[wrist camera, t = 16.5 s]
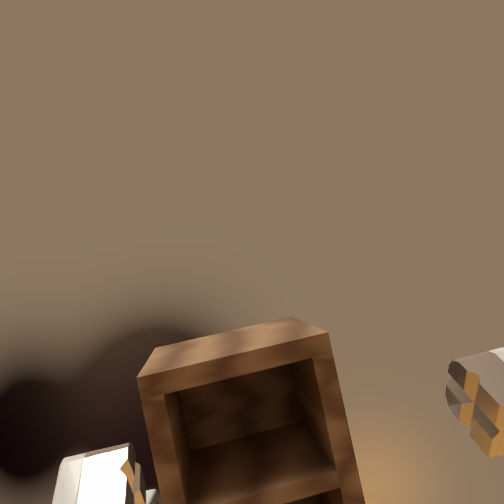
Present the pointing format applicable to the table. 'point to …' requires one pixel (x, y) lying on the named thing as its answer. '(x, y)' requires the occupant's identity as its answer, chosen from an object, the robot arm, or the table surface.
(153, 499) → the skincare box
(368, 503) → the table surface
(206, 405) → the wooden pedestal block
